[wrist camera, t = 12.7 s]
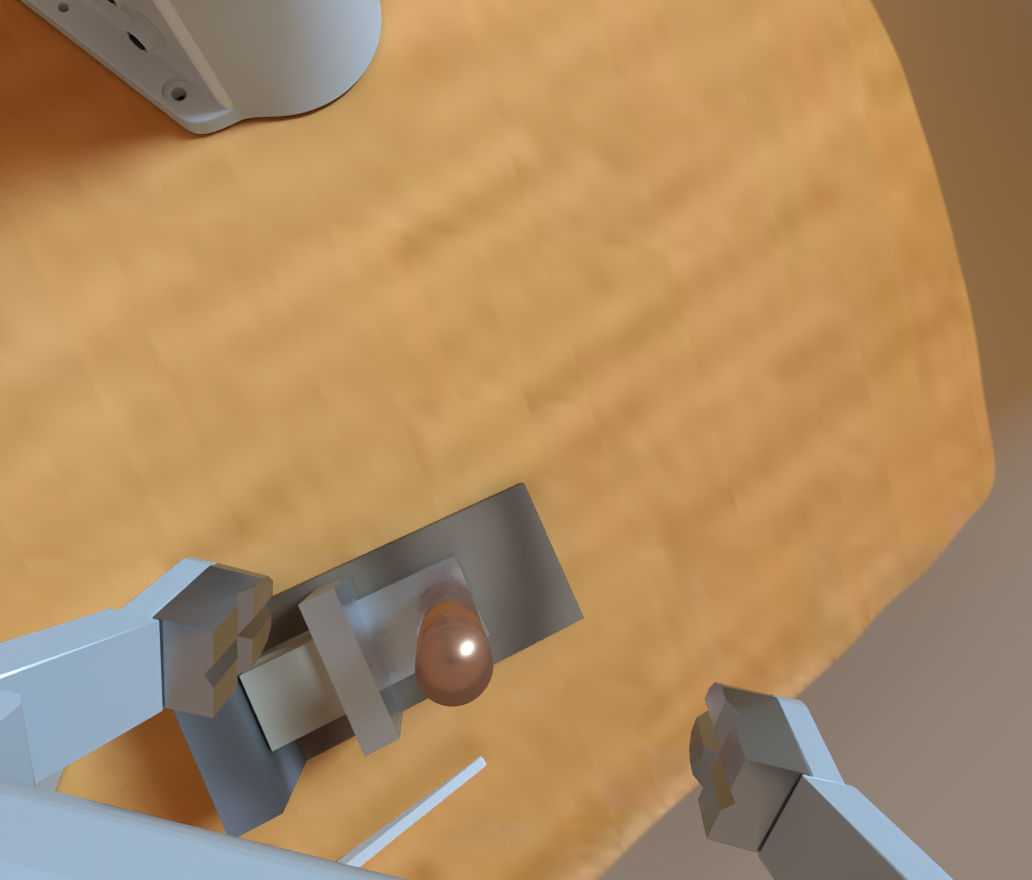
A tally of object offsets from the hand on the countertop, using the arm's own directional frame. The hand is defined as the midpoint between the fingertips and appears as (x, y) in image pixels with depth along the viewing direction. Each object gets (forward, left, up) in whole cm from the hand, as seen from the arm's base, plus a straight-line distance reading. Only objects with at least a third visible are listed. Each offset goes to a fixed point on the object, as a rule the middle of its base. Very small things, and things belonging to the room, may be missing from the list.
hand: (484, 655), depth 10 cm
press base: (0, -5, -25) cm, 25 cm away
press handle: (0, -5, -23) cm, 23 cm away
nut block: (-4, -10, -23) cm, 25 cm away
